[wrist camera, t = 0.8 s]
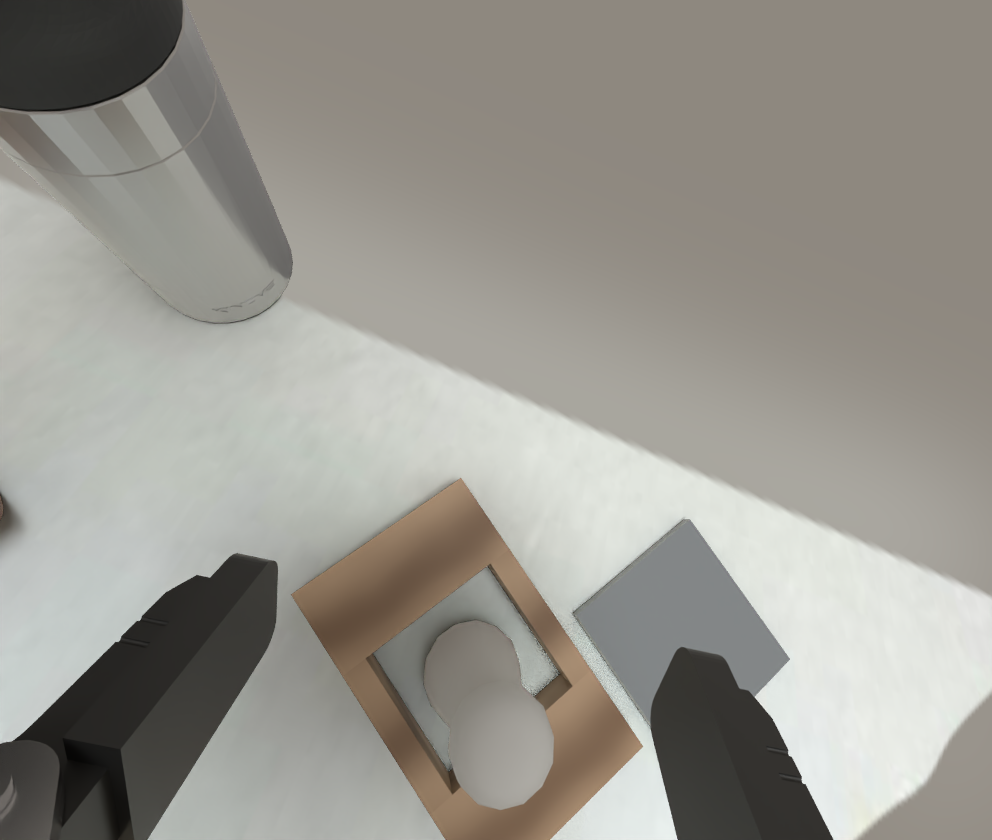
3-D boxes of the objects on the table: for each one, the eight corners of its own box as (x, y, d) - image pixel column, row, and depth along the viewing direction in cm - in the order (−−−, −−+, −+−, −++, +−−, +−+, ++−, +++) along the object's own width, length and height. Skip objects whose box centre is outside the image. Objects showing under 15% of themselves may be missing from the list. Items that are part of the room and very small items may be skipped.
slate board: (572, 613, 32) (576, 615, 32) (683, 519, 35) (689, 519, 35) (676, 765, 32) (683, 771, 31) (781, 656, 34) (790, 659, 34)
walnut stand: (300, 588, 30) (291, 594, 27) (457, 481, 33) (461, 478, 31) (479, 871, 28) (485, 903, 26) (625, 729, 31) (643, 746, 29)
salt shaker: (453, 597, 31) (482, 645, 19) (526, 640, 32) (603, 716, 19) (404, 683, 30) (402, 798, 17) (482, 728, 30) (535, 874, 17)
